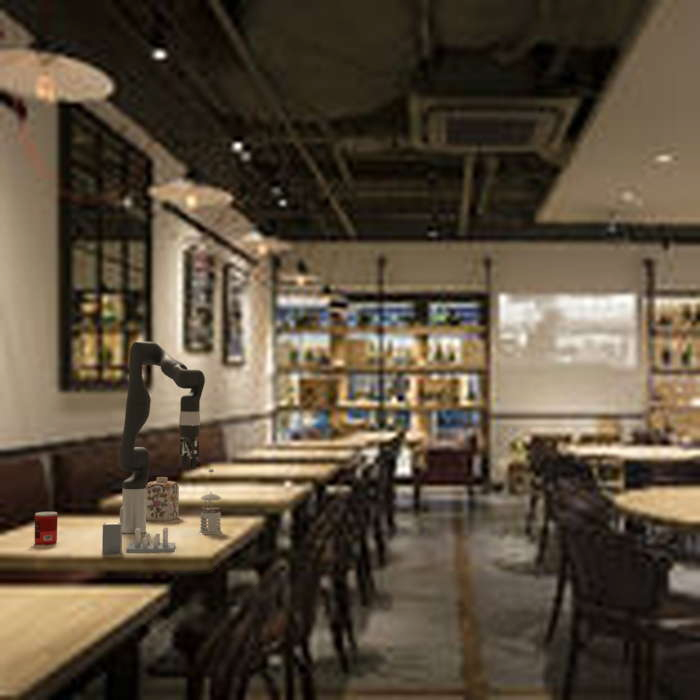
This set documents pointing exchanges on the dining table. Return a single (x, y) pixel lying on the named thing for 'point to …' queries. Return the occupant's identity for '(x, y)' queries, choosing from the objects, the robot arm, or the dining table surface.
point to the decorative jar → (162, 500)
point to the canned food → (45, 528)
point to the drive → (112, 538)
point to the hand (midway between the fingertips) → (188, 468)
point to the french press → (210, 515)
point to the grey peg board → (151, 547)
